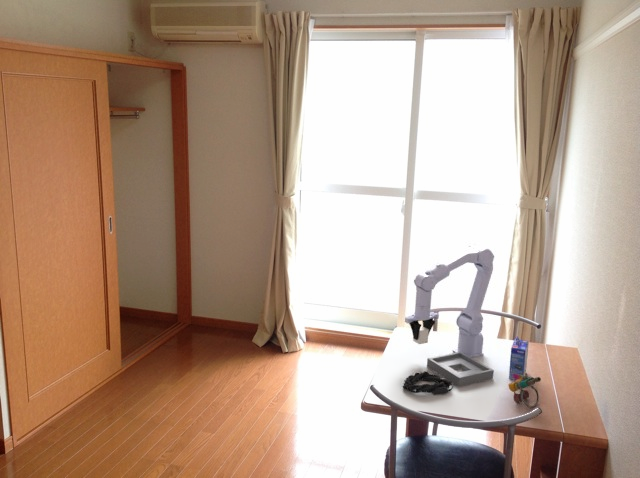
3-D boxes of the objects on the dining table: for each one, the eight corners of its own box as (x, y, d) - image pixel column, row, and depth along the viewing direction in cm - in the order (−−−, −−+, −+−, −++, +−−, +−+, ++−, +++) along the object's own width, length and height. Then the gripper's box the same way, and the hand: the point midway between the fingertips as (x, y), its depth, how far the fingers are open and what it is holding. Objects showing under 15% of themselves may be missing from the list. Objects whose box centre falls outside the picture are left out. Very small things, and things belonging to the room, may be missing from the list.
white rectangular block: (421, 339, 223) (422, 325, 222) (427, 342, 219) (428, 329, 218) (412, 340, 221) (413, 327, 220) (419, 344, 218) (420, 330, 216)
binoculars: (530, 403, 194) (518, 375, 196) (553, 399, 188) (541, 369, 190) (516, 412, 188) (504, 382, 190) (539, 407, 182) (526, 377, 184)
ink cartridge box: (510, 368, 217) (514, 332, 214) (526, 371, 215) (530, 335, 212) (507, 378, 208) (511, 341, 205) (523, 382, 206) (527, 344, 203)
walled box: (459, 360, 223) (460, 351, 222) (492, 379, 207) (493, 370, 207) (426, 366, 216) (427, 358, 215) (458, 387, 200) (459, 377, 199)
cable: (409, 399, 191) (410, 387, 190) (394, 380, 204) (395, 369, 203) (456, 394, 195) (457, 383, 194) (438, 377, 208) (439, 365, 207)
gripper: (431, 299, 224) (429, 332, 227) (401, 303, 217) (399, 337, 220) (443, 304, 218) (440, 338, 221) (412, 309, 211) (409, 343, 214)
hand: (420, 338), depth 220 cm, fingers closed on white rectangular block, 4 cm apart
